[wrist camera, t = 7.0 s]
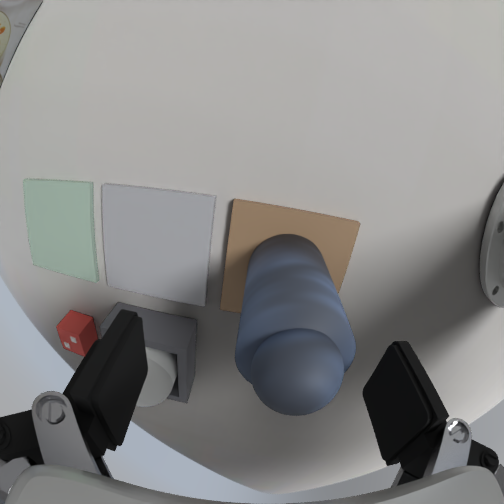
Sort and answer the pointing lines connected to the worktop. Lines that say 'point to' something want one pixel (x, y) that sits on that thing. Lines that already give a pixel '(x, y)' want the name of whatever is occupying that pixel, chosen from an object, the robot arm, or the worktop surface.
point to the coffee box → (13, 27)
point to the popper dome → (158, 377)
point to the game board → (162, 253)
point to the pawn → (292, 327)
